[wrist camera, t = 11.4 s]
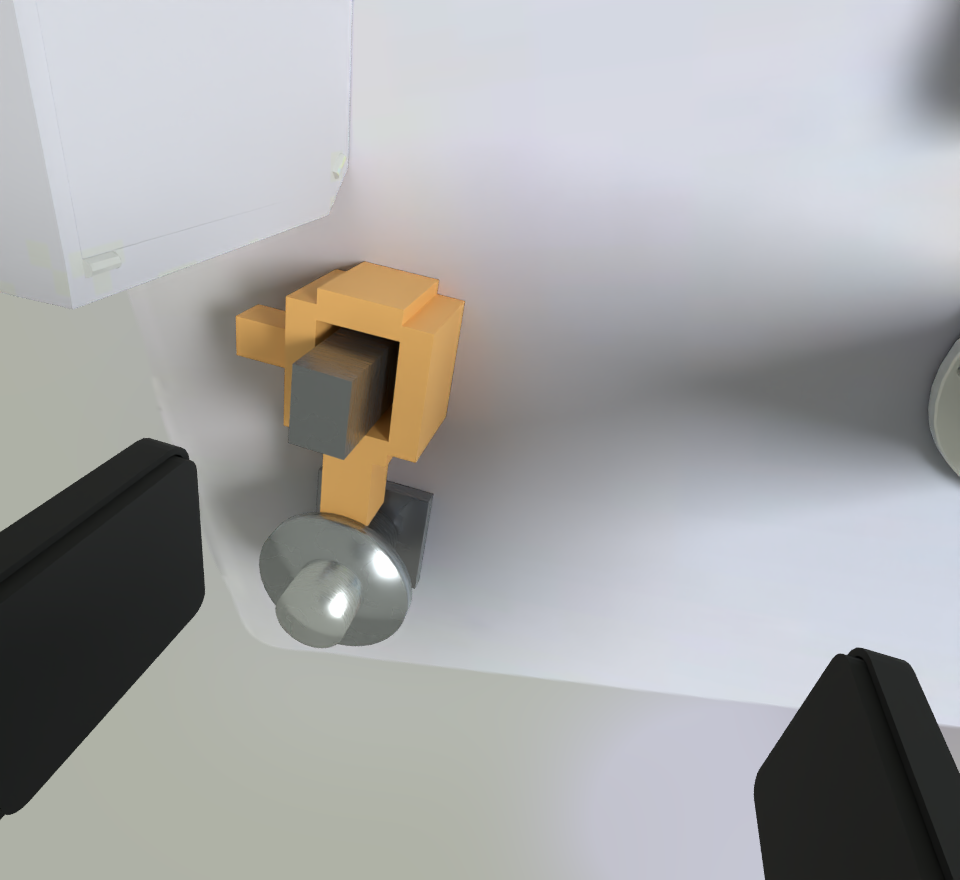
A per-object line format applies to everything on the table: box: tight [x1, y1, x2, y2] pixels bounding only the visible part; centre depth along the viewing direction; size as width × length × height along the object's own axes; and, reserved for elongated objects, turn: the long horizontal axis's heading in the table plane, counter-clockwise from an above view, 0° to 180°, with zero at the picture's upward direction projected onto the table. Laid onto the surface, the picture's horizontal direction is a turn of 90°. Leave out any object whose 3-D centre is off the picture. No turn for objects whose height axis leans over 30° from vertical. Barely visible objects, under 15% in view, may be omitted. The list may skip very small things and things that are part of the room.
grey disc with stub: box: [259, 466, 433, 648], centre depth 42 cm, size 10×10×10 cm
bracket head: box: [236, 262, 465, 526], centre depth 38 cm, size 12×14×6 cm
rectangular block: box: [288, 327, 400, 460], centre depth 35 cm, size 3×4×10 cm
